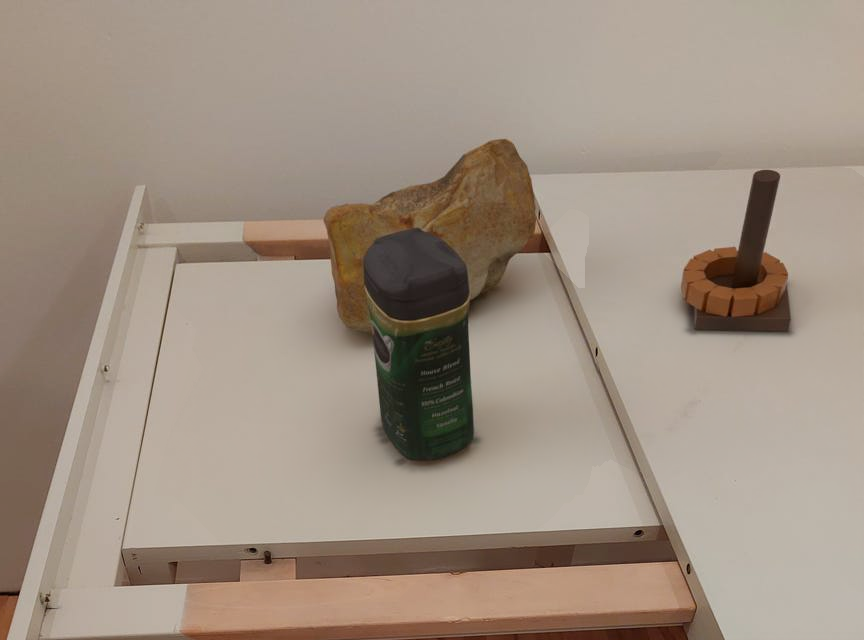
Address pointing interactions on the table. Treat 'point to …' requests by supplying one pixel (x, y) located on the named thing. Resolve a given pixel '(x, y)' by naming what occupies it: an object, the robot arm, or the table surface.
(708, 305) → the ring
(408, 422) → the coffee jar
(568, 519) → the table surface
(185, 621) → the table surface
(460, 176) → the rough brown rock
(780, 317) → the post stand
